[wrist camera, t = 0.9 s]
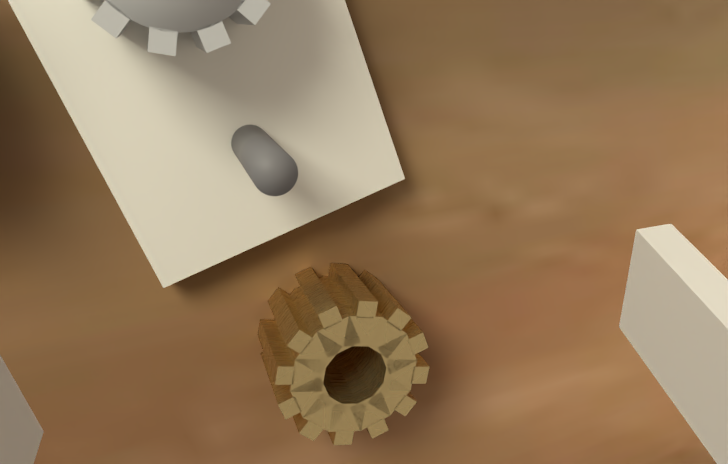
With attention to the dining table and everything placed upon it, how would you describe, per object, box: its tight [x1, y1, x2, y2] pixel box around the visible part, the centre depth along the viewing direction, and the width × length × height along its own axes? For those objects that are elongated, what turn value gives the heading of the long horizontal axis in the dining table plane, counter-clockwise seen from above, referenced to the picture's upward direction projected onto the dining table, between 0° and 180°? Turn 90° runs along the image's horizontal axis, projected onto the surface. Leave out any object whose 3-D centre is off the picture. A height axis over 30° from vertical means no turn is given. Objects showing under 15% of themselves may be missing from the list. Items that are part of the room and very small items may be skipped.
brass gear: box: [258, 263, 429, 445], centre depth 39 cm, size 9×9×6 cm
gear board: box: [8, 0, 405, 288], centre depth 30 cm, size 21×15×10 cm
